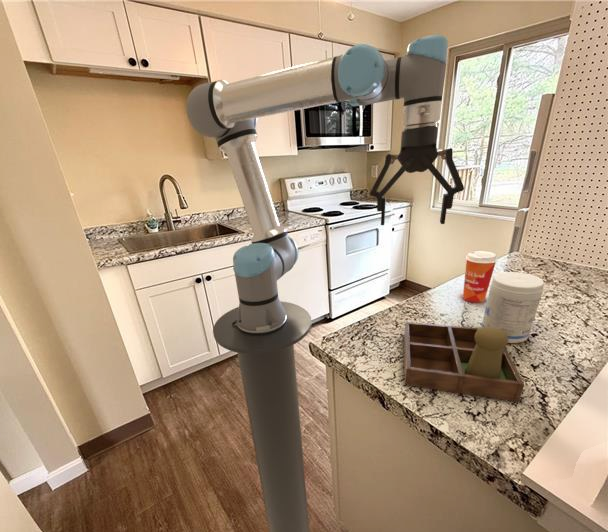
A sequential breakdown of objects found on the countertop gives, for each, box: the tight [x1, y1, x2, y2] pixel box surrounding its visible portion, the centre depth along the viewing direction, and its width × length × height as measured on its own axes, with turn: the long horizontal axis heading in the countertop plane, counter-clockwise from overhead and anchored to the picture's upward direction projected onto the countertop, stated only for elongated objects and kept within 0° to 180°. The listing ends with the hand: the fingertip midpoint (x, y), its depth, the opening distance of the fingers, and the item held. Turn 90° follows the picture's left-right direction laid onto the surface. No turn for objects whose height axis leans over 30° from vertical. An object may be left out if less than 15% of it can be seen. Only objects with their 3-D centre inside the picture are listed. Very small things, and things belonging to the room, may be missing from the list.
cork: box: [465, 326, 509, 379], centre depth 60 cm, size 6×6×11 cm
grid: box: [403, 321, 525, 403], centre depth 67 cm, size 19×19×4 cm
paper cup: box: [462, 250, 498, 304], centre depth 91 cm, size 8×8×14 cm
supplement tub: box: [480, 271, 545, 344], centre depth 73 cm, size 10×10×15 cm
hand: (411, 223), depth 77 cm, fingers open, 13 cm apart
